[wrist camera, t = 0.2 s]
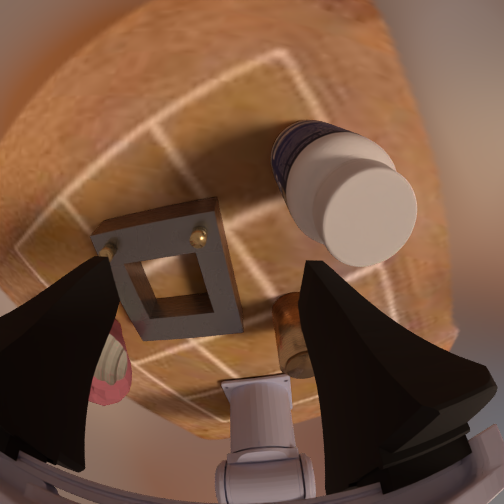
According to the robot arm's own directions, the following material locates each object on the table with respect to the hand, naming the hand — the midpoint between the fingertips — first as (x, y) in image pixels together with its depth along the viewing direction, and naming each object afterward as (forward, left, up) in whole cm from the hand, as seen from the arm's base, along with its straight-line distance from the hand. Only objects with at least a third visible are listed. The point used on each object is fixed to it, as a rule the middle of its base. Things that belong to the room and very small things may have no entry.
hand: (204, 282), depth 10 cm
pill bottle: (+1, -6, -10) cm, 12 cm away
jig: (-6, +5, -10) cm, 12 cm away
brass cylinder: (-12, -4, -10) cm, 16 cm away
